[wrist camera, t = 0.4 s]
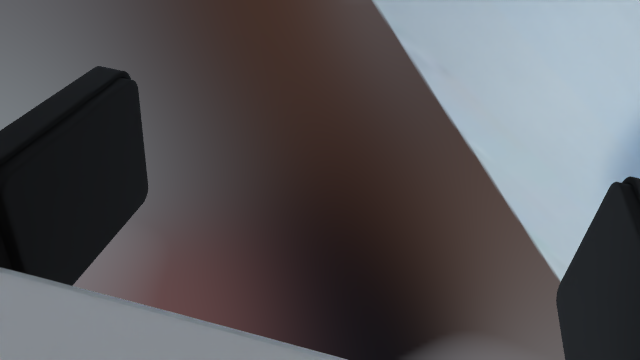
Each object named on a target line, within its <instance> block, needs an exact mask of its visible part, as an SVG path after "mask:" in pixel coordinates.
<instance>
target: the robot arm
mask: <svg viewBox="0 0 640 360" xmlns="http://www.w3.org/2000/svg"><path fill="white" fill-rule="evenodd" d="M147 193H148V181H147V171H146V162H145V152H144V142H143V132H142V122H141V113H140V103H139V93H138V86H137V84H136V82H135V81H134V80H131V78H130V76H129V74H128V73H127V72H125V71H120V70H115V69H111V68H106V67H101V66H97V67H95V68H93V69H92V70H90V71H89V72H87V73H86V74H84V75H83V76H82V77H80V78H78V79H77V80H75V81H74V82H72V83H71V84H69V85H68V86H66V87H65V88H64V89H62V90H60V91H59V92H57V93H56V94H55V95H53V96H51V97H50V98H49V99H47V100H45V101H44V102H42V103H41V104H39V105H38V106H36V107H35V108H33V109H32V110H31V111H29V112H27V113H26V114H25V115H23V116H22V117H20V118H19V119H17V120H16V121H14V122H13V123H11V124H10V125H8V126H7V127H5V128H4V129H2V130H1V131H0V360H347V359H343V358H339V357H336V356H332V355H328V354H325V353H321V352H317V351H314V350H310V349H306V348H303V347H299V346H295V345H292V344H288V343H284V342H280V341H277V340H273V339H269V338H266V337H262V336H258V335H255V334H251V333H247V332H243V331H240V330H236V329H232V328H229V327H225V326H221V325H217V324H214V323H210V322H206V321H203V320H199V319H195V318H191V317H188V316H184V315H180V314H177V313H173V312H169V311H165V310H162V309H158V308H154V307H150V306H146V305H142V304H139V303H135V302H131V301H127V300H124V299H120V298H116V297H112V296H108V295H105V294H101V293H97V292H93V291H90V290H86V289H82V288H78V287H75V286H72V285H73V284H74V283H75V282H76V281H77V280H78V278H79V277H80V276H81V275H82V274H83V272H84V271H85V270H86V269H87V268H88V267H89V266H90V264H91V263H92V262H93V261H94V260H95V259H96V257H97V256H98V255H99V254H100V253H101V252H102V250H103V249H104V248H105V247H106V246H107V245H108V243H109V242H110V241H111V240H112V239H113V237H114V236H115V235H116V234H117V233H118V232H119V230H120V229H121V228H122V227H123V226H124V225H125V224H126V222H127V221H128V220H129V219H130V218H131V216H132V215H133V214H134V213H135V212H136V211H137V210H138V208H139V207H140V206H141V205H142V204H143V202H144V201H145V199H146V196H147ZM556 301H557V309H558V316H559V322H560V329H561V335H562V342H563V348H564V354H565V360H640V179H639V178H634V177H628V178H626V179H625V180H624V181H623V182H622V183H619V182H614V183H613V184H612V185H611V186H610V188H609V190H608V192H607V193H606V195H605V197H604V199H603V201H602V203H601V205H600V207H599V209H598V211H597V213H596V215H595V217H594V219H593V221H592V223H591V225H590V227H589V228H588V230H587V232H586V234H585V236H584V238H583V240H582V242H581V244H580V246H579V248H578V250H577V252H576V254H575V256H574V258H573V260H572V262H571V263H570V265H569V267H568V269H567V271H566V273H565V275H564V277H563V279H562V281H561V283H560V285H559V288H558V292H557V300H556Z"/></svg>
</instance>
